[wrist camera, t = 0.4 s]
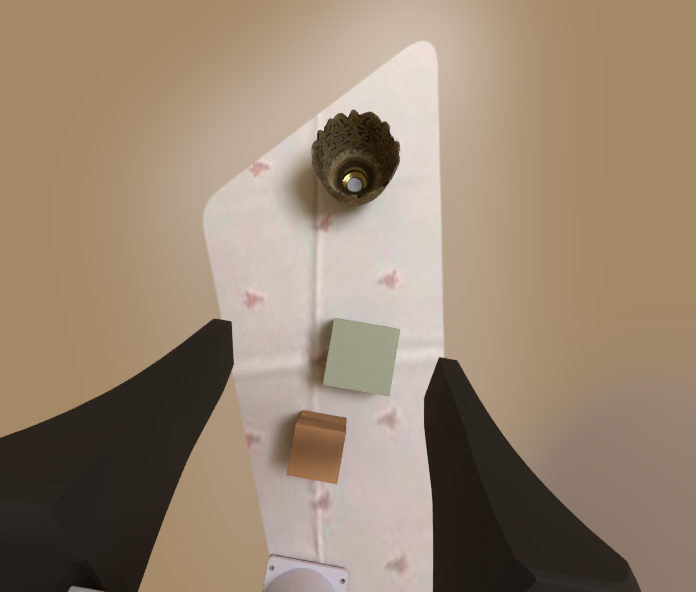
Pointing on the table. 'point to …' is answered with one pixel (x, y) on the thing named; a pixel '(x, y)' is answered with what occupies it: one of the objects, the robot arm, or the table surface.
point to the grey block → (361, 357)
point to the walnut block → (317, 447)
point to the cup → (355, 156)
